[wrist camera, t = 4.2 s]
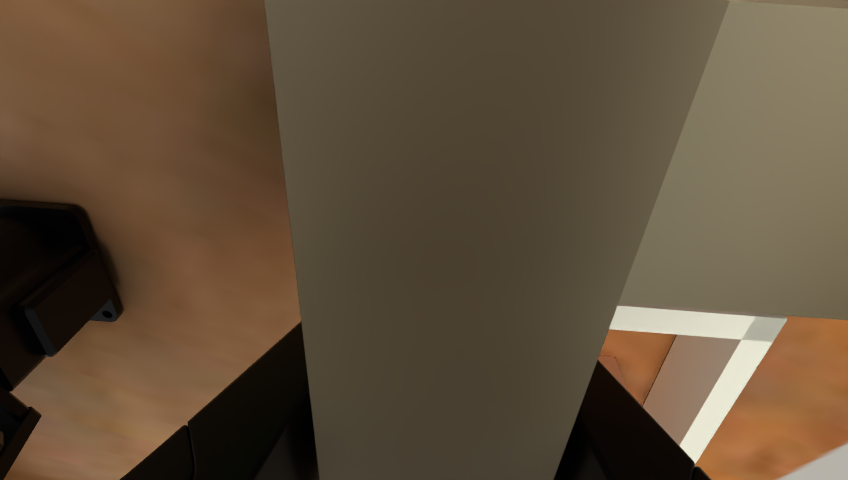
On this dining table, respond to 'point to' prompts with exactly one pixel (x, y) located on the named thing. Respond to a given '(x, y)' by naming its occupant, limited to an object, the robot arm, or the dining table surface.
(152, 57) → the dining table surface
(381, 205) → the hook
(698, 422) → the white l-shaped bracket
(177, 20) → the dining table surface
